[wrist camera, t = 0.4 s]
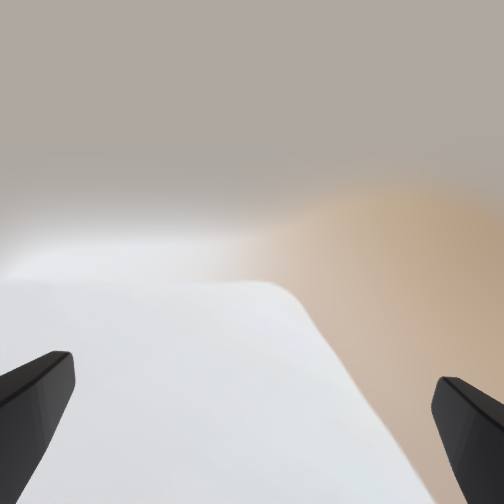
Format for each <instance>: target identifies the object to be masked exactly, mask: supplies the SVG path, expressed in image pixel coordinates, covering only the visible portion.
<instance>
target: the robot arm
mask: <svg viewBox="0 0 504 504" xmlns="http://www.w3.org/2000/svg"><path fill="white" fill-rule="evenodd" d="M74 387H75V371H74V361H73V355H72V354H71V353H70V352H67V351H52V352H50V353H48V354H46V355H43V356H41V357H39V358H37V359H35V360H33V361H31V362H29V363H27V364H24V365H22V366H20V367H18V368H16V369H14V370H12V371H10V372H8V373H6V374H3V375H1V376H0V504H16V502H17V500H18V499H19V497H20V495H21V493H22V492H23V490H24V488H25V487H26V485H27V483H28V481H29V480H30V478H31V476H32V474H33V473H34V471H35V469H36V468H37V466H38V464H39V462H40V461H41V459H42V457H43V455H44V453H45V452H46V450H47V448H48V445H49V443H50V441H51V439H52V437H53V435H54V433H55V430H56V428H57V426H58V424H59V421H60V419H61V417H62V415H63V413H64V410H65V408H66V406H67V404H68V401H69V399H70V397H71V395H72V393H73V390H74ZM431 411H432V414H433V417H434V420H435V423H436V426H437V428H438V431H439V434H440V437H441V440H442V443H443V445H444V448H445V451H446V454H447V456H448V459H449V462H450V465H451V467H452V470H453V472H454V475H455V477H456V479H457V482H458V484H459V486H460V488H461V490H462V493H463V495H464V496H465V499H466V501H467V503H468V504H504V404H502V403H500V402H498V401H497V400H495V399H493V398H492V397H490V396H488V395H487V394H485V393H483V392H482V391H480V390H478V389H477V388H475V387H473V386H472V385H470V384H468V383H467V382H465V381H463V380H461V379H460V378H457V377H441V378H439V380H438V382H437V385H436V389H435V392H434V396H433V399H432V403H431Z"/></svg>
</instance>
